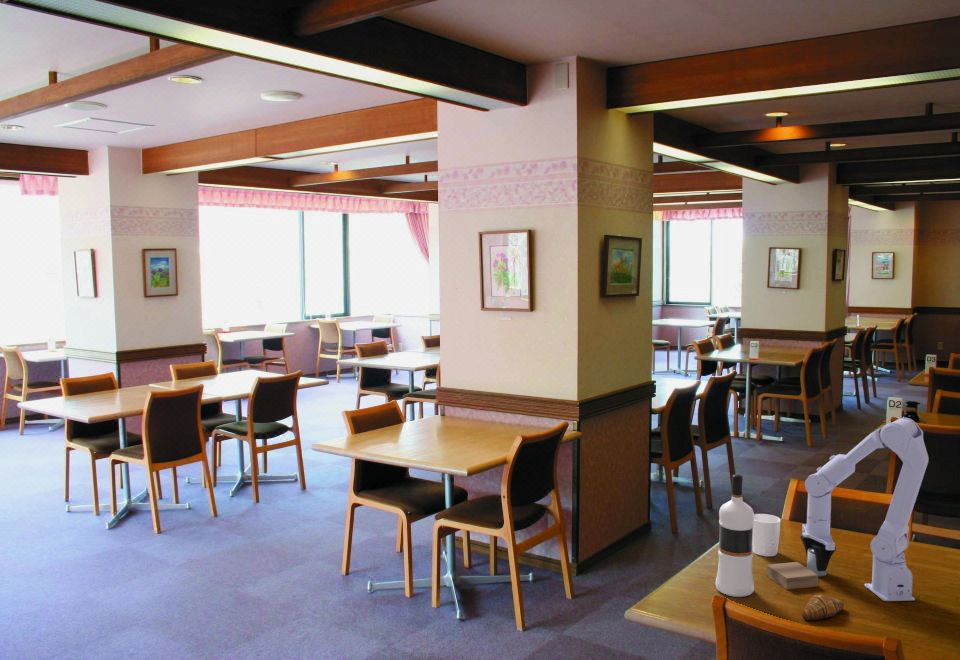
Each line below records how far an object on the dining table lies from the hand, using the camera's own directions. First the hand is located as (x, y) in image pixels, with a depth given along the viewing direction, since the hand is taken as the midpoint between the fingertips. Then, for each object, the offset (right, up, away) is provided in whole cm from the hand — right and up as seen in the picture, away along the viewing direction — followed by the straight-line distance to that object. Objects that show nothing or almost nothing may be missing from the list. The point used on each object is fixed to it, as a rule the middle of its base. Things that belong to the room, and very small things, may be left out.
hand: (816, 566), depth 212 cm
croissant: (-9, -4, -24) cm, 26 cm away
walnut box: (-9, -2, -5) cm, 10 cm away
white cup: (-9, -1, +15) cm, 17 cm away
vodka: (-26, -3, -11) cm, 28 cm away
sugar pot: (0, -2, 0) cm, 2 cm away
